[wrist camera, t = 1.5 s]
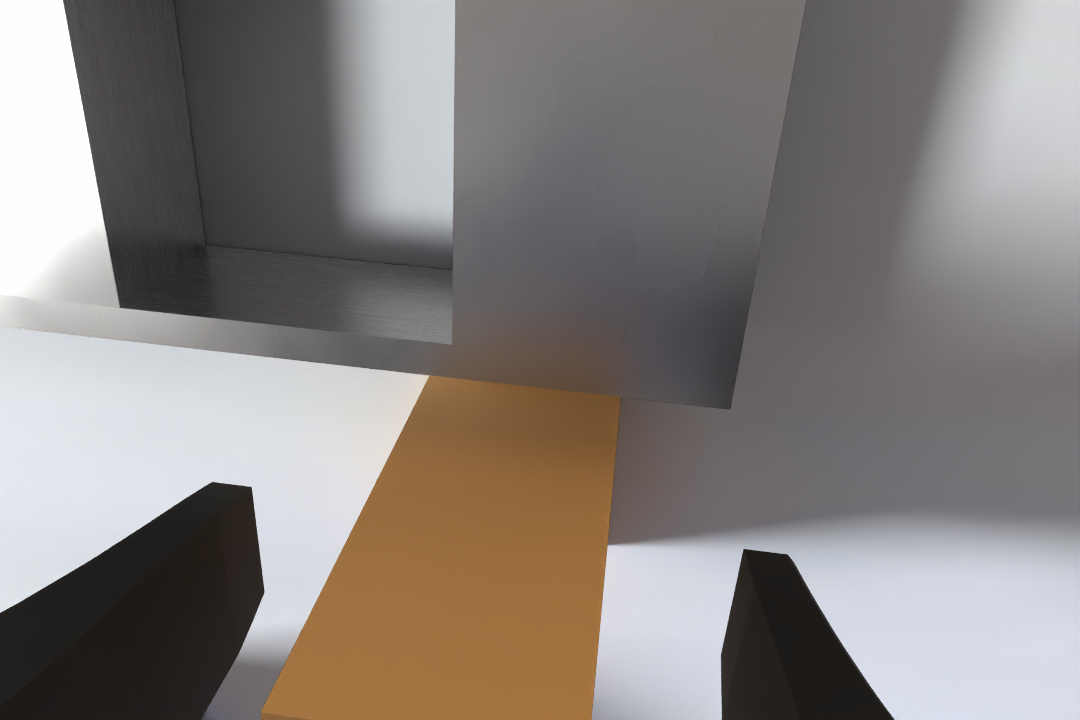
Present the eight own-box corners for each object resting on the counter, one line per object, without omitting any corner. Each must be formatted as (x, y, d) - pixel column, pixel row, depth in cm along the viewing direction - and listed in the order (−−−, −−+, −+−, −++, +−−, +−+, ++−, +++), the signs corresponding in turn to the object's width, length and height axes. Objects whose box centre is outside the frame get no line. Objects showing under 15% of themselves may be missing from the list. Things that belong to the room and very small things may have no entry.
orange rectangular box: (603, 545, 16) (564, 951, 10) (431, 523, 16) (286, 905, 10) (621, 393, 14) (587, 761, 8) (431, 372, 15) (260, 712, 8)
